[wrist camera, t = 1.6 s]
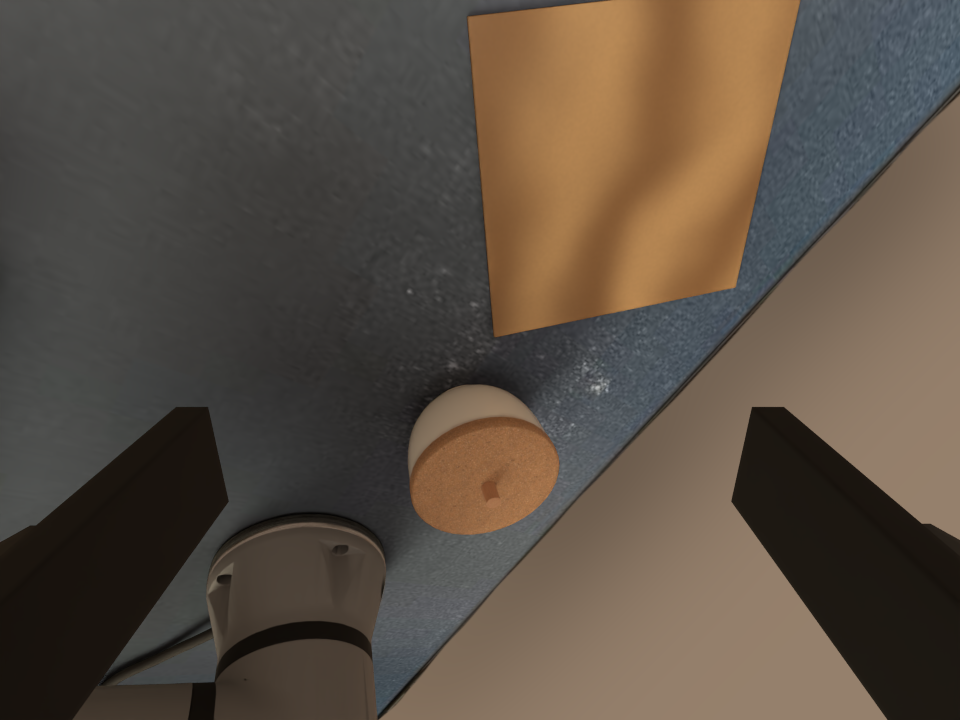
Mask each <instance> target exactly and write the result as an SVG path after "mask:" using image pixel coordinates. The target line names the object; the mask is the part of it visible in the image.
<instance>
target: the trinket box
mask: <svg viewBox="0 0 960 720" xmlns="http://www.w3.org/2000/svg"><path fill="white" fill-rule="evenodd" d="M408 470H409V478H410V494H411V500H412V504H413V506H414V509H415V511H416V512H417V514H418V515H419V516H420V517H421V518H422V519H423V520H424V521H425V522H426V523H428V524H429V525H431V526H432V527H434V528H436V529H439V530H442V531H445V532H449V533H453V534H480V533H486V532H491V531H495V530H498V529H501V528H504V527H506V526H508V525H511V524H513V523H515V522H517V521H519V520H520V519H522V518H524V517H525V516H527V515H528V514H530V513H531V512H533V511H534V510H535V509H536V508H537V507H538V506H539V505H540V504H541V503H542V502H543V501H544V500H545V499H546V498H547V496H548V495H549V493H550V492H551V490H552V489H553V487H554V485H555V483H556V479H557V476H558V473H559V458H558V454H557V451H556V449H555V447H554V445H553V443H552V441H551V440H550V438H549V437H548V435H547V434H546V433H545V431H544V429H543V428H542V426H541V424H540V423H539V421H538V420H537V418H536V417H535V415H534V414H533V413H532V412H531V410H530V409H529V408H528V407H527V406H526V405H525V404H524V403H523V402H522V401H521V400H520V399H518V398H517V397H515V396H514V395H512V394H511V393H509V392H507V391H505V390H503V389H500V388H497V387H493V386H489V385H481V384H475V385H462V386H457V387H454V388H452V389H449V390H447V391H446V392H444V393H442V394H441V395H440V396H438V397H437V398H436V399H434V400H433V401H432V402H431V403H430V404H429V405H428V406H427V407H426V408H425V409H424V410H423V412H422V413H421V414H420V416H419V417H418V419H417V421H416V423H415V425H414V427H413V430H412V433H411V436H410V441H409V448H408Z"/></svg>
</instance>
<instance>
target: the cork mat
mask: <svg viewBox="0 0 960 720" xmlns="http://www.w3.org/2000/svg"><path fill="white" fill-rule="evenodd" d="M799 4H800V0H607V1H598V2H589V3H580V4H571V5H563V6H554V7H545V8H536V9H527V10H518V11H510V12H501V13H492V14H483V15H474V16H467V23H468V35H469V47H470V59H471V71H472V83H473V95H474V107H475V119H476V131H477V143H478V155H479V167H480V179H481V191H482V203H483V215H484V227H485V239H486V251H487V263H488V275H489V287H490V299H491V311H492V323H493V335H494V337H499V336H504V335H509V334H514V333H518V332H523V331H528V330H533V329H538V328H542V327H547V326H552V325H557V324H562V323H566V322H571V321H576V320H581V319H586V318H590V317H595V316H600V315H605V314H610V313H614V312H619V311H624V310H629V309H634V308H638V307H643V306H648V305H653V304H658V303H663V302H667V301H672V300H677V299H682V298H687V297H691V296H696V295H701V294H706V293H711V292H715V291H720V290H725V289H730V288H735V287H736V282H737V278H738V274H739V269H740V265H741V260H742V256H743V251H744V247H745V243H746V238H747V234H748V229H749V225H750V220H751V216H752V212H753V207H754V203H755V198H756V194H757V190H758V185H759V181H760V176H761V172H762V167H763V163H764V159H765V154H766V150H767V145H768V141H769V136H770V132H771V128H772V123H773V119H774V114H775V110H776V106H777V101H778V97H779V92H780V88H781V83H782V79H783V75H784V70H785V66H786V61H787V57H788V52H789V48H790V44H791V39H792V35H793V30H794V26H795V22H796V17H797V13H798V8H799Z"/></svg>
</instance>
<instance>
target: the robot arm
mask: <svg viewBox="0 0 960 720" xmlns="http://www.w3.org/2000/svg"><path fill="white" fill-rule="evenodd" d="M228 502H229V501H228V496H227V492H226V487H225V483H224V478H223V473H222V469H221V464H220V460H219V455H218V451H217V446H216V442H215V437H214V432H213V428H212V423H211V419H210V414H209V410H208V407H176V408H174V409H173V410H172V411H171V412H170V413H169V414H167V415H166V416H165V417H164V418H163V419H161V420H160V421H159V422H158V423H157V424H156V425H154V426H153V427H152V428H151V429H150V430H148V431H147V432H146V433H145V434H144V435H143V436H141V437H140V438H139V439H138V440H137V441H135V442H134V443H133V444H132V445H131V446H130V447H128V448H127V449H126V450H125V451H124V452H122V453H121V454H120V455H119V456H118V457H117V458H115V459H114V460H113V461H112V462H111V463H109V464H108V465H107V466H106V467H105V468H104V469H102V470H101V471H100V472H99V473H98V474H96V475H95V476H94V477H93V478H92V479H91V480H89V481H88V482H87V483H86V484H85V485H83V486H82V487H81V488H80V489H79V490H78V491H76V492H75V493H74V494H73V495H72V496H70V497H69V498H68V499H67V500H66V501H65V502H63V503H62V504H61V505H60V506H59V507H57V508H56V509H55V510H54V511H53V512H52V513H50V514H49V515H48V516H47V517H46V518H44V519H43V520H42V521H41V522H40V523H39V524H37V525H36V526H29V527H27V528H25V529H23V530H22V531H20V532H18V533H16V534H14V535H13V536H11V537H9V538H7V539H5V540H4V541H2V542H0V720H377V710H376V698H375V685H374V673H373V663H372V648H371V639H372V634H373V630H374V626H375V622H376V618H377V614H378V610H379V606H380V602H381V598H383V597H382V594H384V593H383V590H384V585H385V577H386V564H385V555H384V550H383V547H382V545H381V543H380V541H379V540H378V539H377V537H376V536H375V535H374V534H373V533H372V532H371V531H369V530H368V529H366V528H365V527H363V526H362V525H360V524H358V523H355V522H353V521H350V520H347V519H344V518H340V517H336V516H330V515H321V514H301V515H291V516H284V517H279V518H275V519H271V520H268V521H265V522H262V523H259V524H256V525H254V526H252V527H249V528H247V529H246V530H244V531H242V532H240V533H238V534H237V535H235V536H234V537H233V538H231V539H230V540H229V541H227V542H226V543H225V544H224V545H223V546H222V547H221V548H220V550H219V551H218V552H217V554H216V555H215V557H214V559H213V561H212V563H211V566H210V570H209V575H208V580H207V586H206V587H207V593H206V597H207V605H208V610H209V616H210V621H211V626H212V628H210V629H208V630H206V631H204V632H202V633H200V634H198V635H196V636H194V637H192V638H190V639H187V640H185V641H183V642H181V643H179V644H177V645H174V646H172V647H170V648H168V649H166V650H164V651H162V652H160V653H158V654H156V655H154V656H152V657H149V658H147V659H145V660H142V661H140V662H138V663H136V664H134V665H131V666H129V667H127V668H125V669H123V670H122V671H120V672H118V673H116V674H115V675H113V676H112V677H110V678H109V679H108V680H106V681H105V682H104V683H103V684H102V685H101V686H97V685H98V683H99V682H100V681H101V679H102V678H103V676H104V675H105V674H106V672H107V671H108V669H109V668H110V667H111V665H112V664H113V662H114V661H115V660H116V658H117V657H118V655H119V654H120V653H121V651H122V650H123V648H124V647H125V646H126V644H127V643H128V641H129V640H130V639H131V637H132V636H133V634H134V633H135V632H136V630H137V629H138V627H139V626H140V625H141V623H142V622H143V620H144V619H145V618H146V616H147V615H148V613H149V612H150V611H151V609H152V608H153V606H154V605H155V604H156V602H157V601H158V599H159V598H160V597H161V595H162V594H163V592H164V591H165V590H166V588H167V587H168V585H169V584H170V583H171V581H172V580H173V578H174V577H175V576H176V574H177V573H178V571H179V570H180V569H181V567H182V566H183V564H184V563H185V562H186V560H187V559H188V557H189V556H190V555H191V553H192V552H193V551H194V549H195V548H196V546H197V545H198V544H199V542H200V541H201V539H202V538H203V537H204V535H205V534H206V532H207V531H208V530H209V528H210V527H211V525H212V524H213V523H214V521H215V520H216V518H217V517H218V516H219V514H220V513H221V511H222V510H223V509H224V507H225V506H226V504H227V503H228ZM732 503H733V504H734V506H735V507H736V509H737V510H738V511H739V513H740V514H741V516H742V517H743V518H744V520H745V521H746V523H747V524H748V525H749V527H750V528H751V530H752V531H753V532H754V534H755V535H756V537H757V538H758V539H759V541H760V542H761V544H762V545H763V546H764V548H765V549H766V550H767V552H768V553H769V555H770V556H771V557H772V559H773V560H774V562H775V563H776V564H777V566H778V567H779V569H780V570H781V571H782V573H783V574H784V576H785V577H786V578H787V580H788V581H789V583H790V584H791V585H792V587H793V588H794V590H795V591H796V592H797V594H798V595H799V597H800V598H801V599H802V601H803V602H804V604H805V605H806V606H807V608H808V609H809V611H810V612H811V613H812V615H813V616H814V618H815V619H816V620H817V622H818V623H819V625H820V626H821V627H822V629H823V630H824V631H825V633H826V634H827V636H828V637H829V638H830V640H831V641H832V643H833V644H834V646H835V647H836V648H837V650H838V651H839V653H840V654H841V655H842V657H843V658H844V660H845V661H846V662H847V664H848V665H849V667H850V668H851V669H852V671H853V672H854V674H855V675H856V676H857V678H858V679H859V681H860V682H861V683H862V685H863V686H864V687H865V689H866V690H867V692H868V693H869V694H870V696H871V697H872V699H873V700H874V701H875V703H876V704H877V706H878V707H879V708H880V710H881V711H882V713H883V714H884V715H885V717H886V718H887V720H960V540H959V539H957V538H955V537H953V536H951V535H950V534H948V533H946V532H944V531H942V530H941V529H939V528H937V527H935V526H933V525H932V524H921V523H920V522H919V521H918V520H917V519H916V518H914V517H913V516H912V515H911V514H910V513H908V512H907V511H906V510H905V509H904V508H903V507H901V506H900V505H899V504H898V503H897V502H895V501H894V500H893V499H892V498H891V497H890V496H888V495H887V494H886V493H885V492H884V491H882V490H881V489H880V488H879V487H878V486H877V485H875V484H874V483H873V482H872V481H871V480H869V479H868V478H867V477H866V476H865V475H864V474H862V473H861V472H860V471H859V470H858V469H856V468H855V467H854V466H853V465H852V464H851V463H849V462H848V461H847V460H846V459H845V458H843V457H842V456H841V455H840V454H839V453H837V452H836V451H835V450H834V449H833V448H832V447H830V446H829V445H828V444H827V443H826V442H824V441H823V440H822V439H821V438H820V437H819V436H817V435H816V434H815V433H814V432H813V431H811V430H810V429H809V428H808V427H807V426H806V425H804V424H803V423H802V422H801V421H800V420H799V419H797V418H796V417H795V416H794V415H793V414H791V413H790V412H789V411H788V410H787V409H785V408H784V407H752V410H751V414H750V419H749V423H748V428H747V432H746V437H745V442H744V446H743V451H742V455H741V460H740V464H739V469H738V473H737V478H736V483H735V487H734V492H733V496H732ZM380 607H381V606H380ZM212 638H214V642H215V647H216V652H217V657H218V663H217V669H216V676H215V682H208V683H177V684H149V685H117V684H118V683H120V682H121V681H123V680H125V679H126V678H128V677H130V676H133V675H135V674H137V673H139V672H141V671H144V670H146V669H148V668H150V667H153V666H155V665H157V664H159V663H161V662H163V661H165V660H167V659H169V658H171V657H174V656H176V655H178V654H180V653H182V652H184V651H187V650H189V649H191V648H193V647H195V646H198V645H200V644H202V643H204V642H206V641H208V640H210V639H212Z"/></svg>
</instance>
